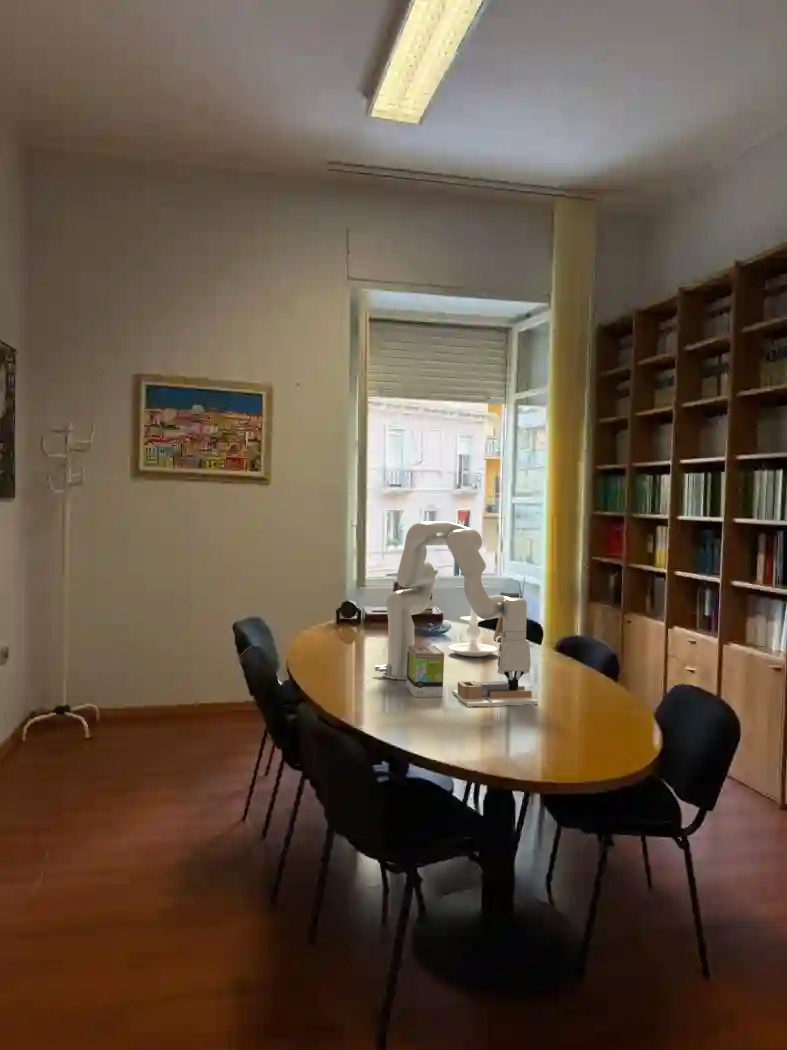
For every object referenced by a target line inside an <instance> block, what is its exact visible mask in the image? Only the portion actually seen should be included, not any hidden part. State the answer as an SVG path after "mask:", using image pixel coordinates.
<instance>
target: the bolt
mask: <svg viewBox="0 0 787 1050" xmlns="http://www.w3.org/2000/svg"><path fill="white" fill-rule="evenodd" d="M478 685H481V686H482V697H489V691H509V684H508V681H506V680H504V681H503V680H497V681H493V680H492V681H475V682H470V686H478Z"/></svg>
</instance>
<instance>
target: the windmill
mask: <svg viewBox="0 0 787 1050" xmlns="http://www.w3.org/2000/svg"><path fill="white" fill-rule="evenodd" d="M525 581H526V578H525V576H524V578H523V585H522V590H519V592H516V593H515V592H513V593H512V592H510V593H508V592H502V591H501V592H500V594H499V595H503V596H507V597H510V598H522V599H524V598H523V596H524V588H525ZM518 587H519V589H521V582H518ZM497 619H498V620H497V623H496V627H495V631H494V634H493V637H492V638H493V640H494V639H495V640H496V638H497V637H498V636H499V632H502V630H503V617H500V618H497ZM501 639H503V638H502V637H500V638H498V640H497V642H498V641H501ZM495 640H494V641H495Z"/></svg>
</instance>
